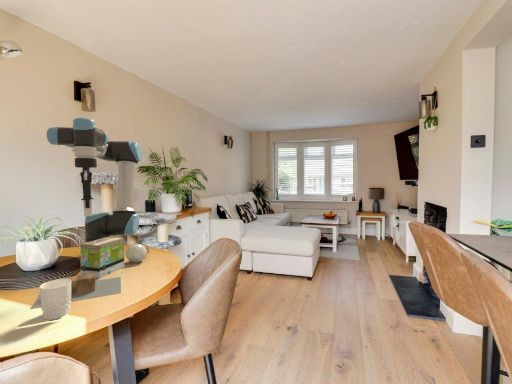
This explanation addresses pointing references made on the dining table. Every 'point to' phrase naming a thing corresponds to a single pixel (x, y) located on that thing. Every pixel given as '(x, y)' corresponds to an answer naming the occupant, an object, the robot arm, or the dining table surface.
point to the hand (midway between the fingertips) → (88, 215)
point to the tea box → (102, 256)
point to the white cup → (55, 298)
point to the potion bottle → (136, 252)
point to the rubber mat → (101, 289)
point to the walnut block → (82, 283)
